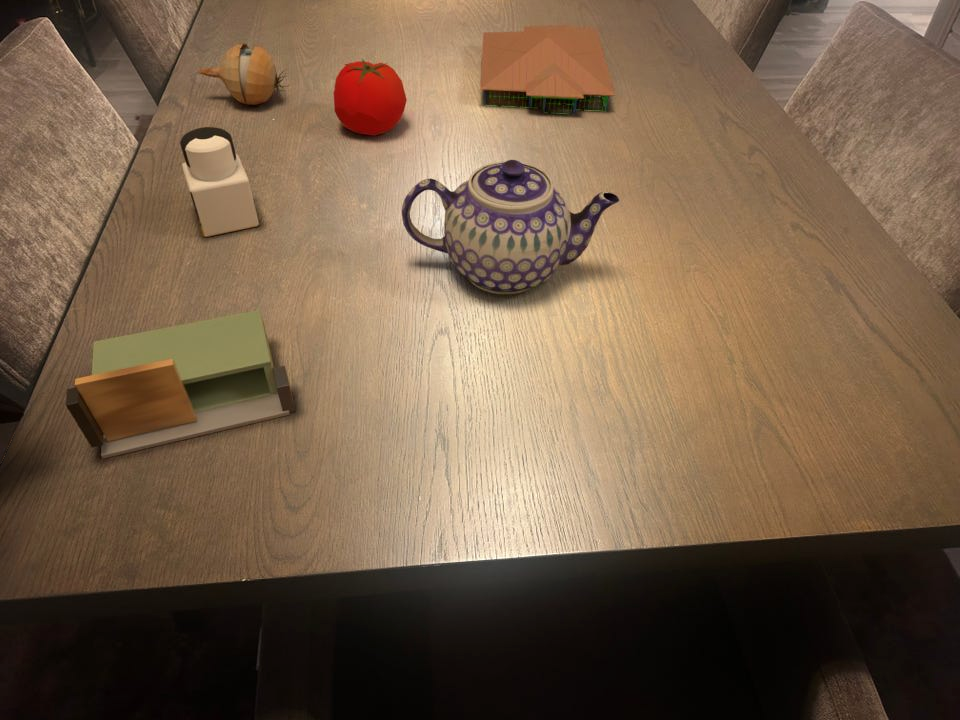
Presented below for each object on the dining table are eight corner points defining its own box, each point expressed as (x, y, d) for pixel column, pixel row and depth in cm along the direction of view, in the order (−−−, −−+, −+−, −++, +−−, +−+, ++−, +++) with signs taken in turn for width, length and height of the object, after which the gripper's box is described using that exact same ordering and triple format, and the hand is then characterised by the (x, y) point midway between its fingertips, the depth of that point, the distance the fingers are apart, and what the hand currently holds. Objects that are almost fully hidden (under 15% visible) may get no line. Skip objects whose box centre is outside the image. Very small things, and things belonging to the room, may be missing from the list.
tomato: (322, 122, 110) (313, 58, 103) (381, 105, 116) (377, 43, 108) (360, 152, 104) (354, 87, 97) (421, 132, 109) (420, 69, 102)
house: (479, 114, 114) (481, 66, 109) (483, 41, 138) (484, -2, 132) (613, 121, 115) (622, 73, 109) (594, 46, 138) (601, 3, 132)
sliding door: (95, 454, 62) (60, 397, 56) (96, 438, 63) (62, 380, 58) (197, 430, 65) (174, 373, 59) (196, 415, 66) (173, 358, 60)
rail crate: (102, 458, 63) (81, 424, 59) (105, 378, 70) (86, 342, 66) (296, 413, 67) (287, 378, 64) (280, 341, 74) (271, 307, 71)
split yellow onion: (288, 64, 106) (189, 35, 103) (281, 122, 112) (187, 96, 109) (299, 51, 114) (208, 24, 111) (292, 105, 119) (205, 81, 116)
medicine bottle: (195, 210, 91) (169, 126, 83) (248, 199, 94) (229, 117, 85) (204, 238, 87) (178, 153, 78) (259, 226, 89) (240, 142, 81)
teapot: (395, 301, 80) (387, 190, 69) (413, 227, 91) (409, 121, 80) (607, 317, 79) (632, 208, 68) (600, 241, 90) (621, 136, 79)
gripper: (-235, 369, 38) (60, 440, 49) (-146, 196, 50) (75, 284, 61) (-298, 484, 42) (-10, 527, 52) (-200, 297, 54) (17, 363, 64)
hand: (22, 414), depth 57 cm, fingers closed
